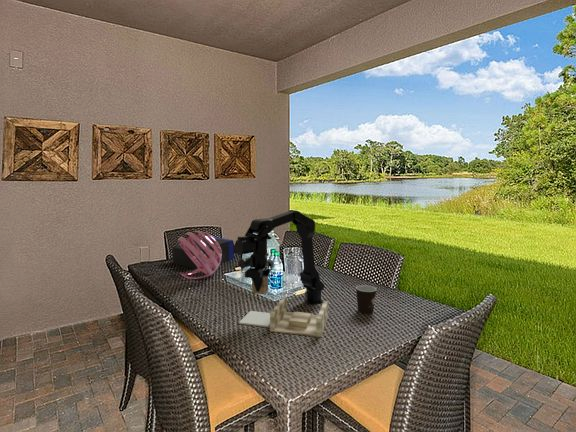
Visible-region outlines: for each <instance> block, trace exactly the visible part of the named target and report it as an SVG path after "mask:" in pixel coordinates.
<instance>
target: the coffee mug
mask: <svg viewBox="0 0 576 432" xmlns="http://www.w3.org/2000/svg"><path fill="white" fill-rule="evenodd" d="M355 292H356V301H357V311H358V312H359V313H360V314H363V315H365V314H366V315H368V314H373V313H374V310H375V309H374V308H375V301H376V296H377V288H376V287H374V286H371V285H364V284H362V285H357V286H356V287H355Z"/></svg>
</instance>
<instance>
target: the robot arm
mask: <svg viewBox="0 0 576 432" xmlns="http://www.w3.org/2000/svg"><path fill="white" fill-rule="evenodd" d="M288 223H292V224H293V225H295V228H296V232H297V234H298V236H299V237H300V240H301V241H300V242H301V252H302V258H303V269H302V272H299V276H300V279H299V280H300V281H301V284H302V286H303V288H304V289H305V292H304V301H305V302H307V303H308V304H309V305H315V304H321V303H322V304H323V300H322V291H324V289H325V284H324V283H323V282H322V280H321V278H320V273H319V271H318V270H317V268H316V267H315V266H316V265H315V253H314V244H313V242H314V241H313V236H314V234H315V232H316V222H315V220H314V219H312V218H310V217H308V216H306V215H305V214H303V213H302V212H300V211H299V210H296V209H295V210H293V209H291V210H288V211H286V212H282V213H280V214H278V215H275V216H271V217H267V218H257V219H256V218H255V219H253V220H252V221H251V223H250V225H249V227H248V229H247V231H246V233H245V234H244V236H238V237H237V239H236V241H235V243H234V248H235V252H236V253H235V254H237V255H239V256H240V255H241V256H242V255H247V254H250V256H249V257H246V258H245V257H243V258H239V259H238V262H237V263H238V264H237V266H238V267H240V270H243V269H245V268H248V267H249V268H248V269H246V270H245V271H244V278H248V279H251V281H252V280H253V282H254V285H255V288H256V291H257V292H259V291H260V288H261V285H262V282H263V279H264V276H268V277H269V276H270V273H271V271H272V269H273V268H274V267H275V266H274V265H275V263H274V261H273V260H272V259H268V256H270V255H269V254H270V253H269V252H268V240H272V237H271V235H270V234H269V233H271V232H273V231H274V229H275V228H278V227H280V226H283V225H286V224H288Z"/></svg>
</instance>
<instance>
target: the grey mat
mask: <svg viewBox="0 0 576 432" xmlns="http://www.w3.org/2000/svg"><path fill="white" fill-rule="evenodd" d="M270 313H271V312H265V311H263V312H262V311H255V310H254V311H253V310H250V311H249V312H247V314H246V315H245V316H244V317H243V318H242V319H241V320H240V321H239V322H238V323H239V325H245V326H246V325H247V326H248V325H249V326H255V327H262V328H270Z"/></svg>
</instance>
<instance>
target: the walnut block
mask: <svg viewBox="0 0 576 432" xmlns="http://www.w3.org/2000/svg"><path fill="white" fill-rule="evenodd" d="M251 281H252V282H251V283H252V284H251V293H252V294H255V295H265V294H266V293H267V292H268V291H269V276H264V279H263V282H262V285H261V288H260V291H259V292H257V291H256V288H255V285H254V282H253V280H252V279H251Z"/></svg>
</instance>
